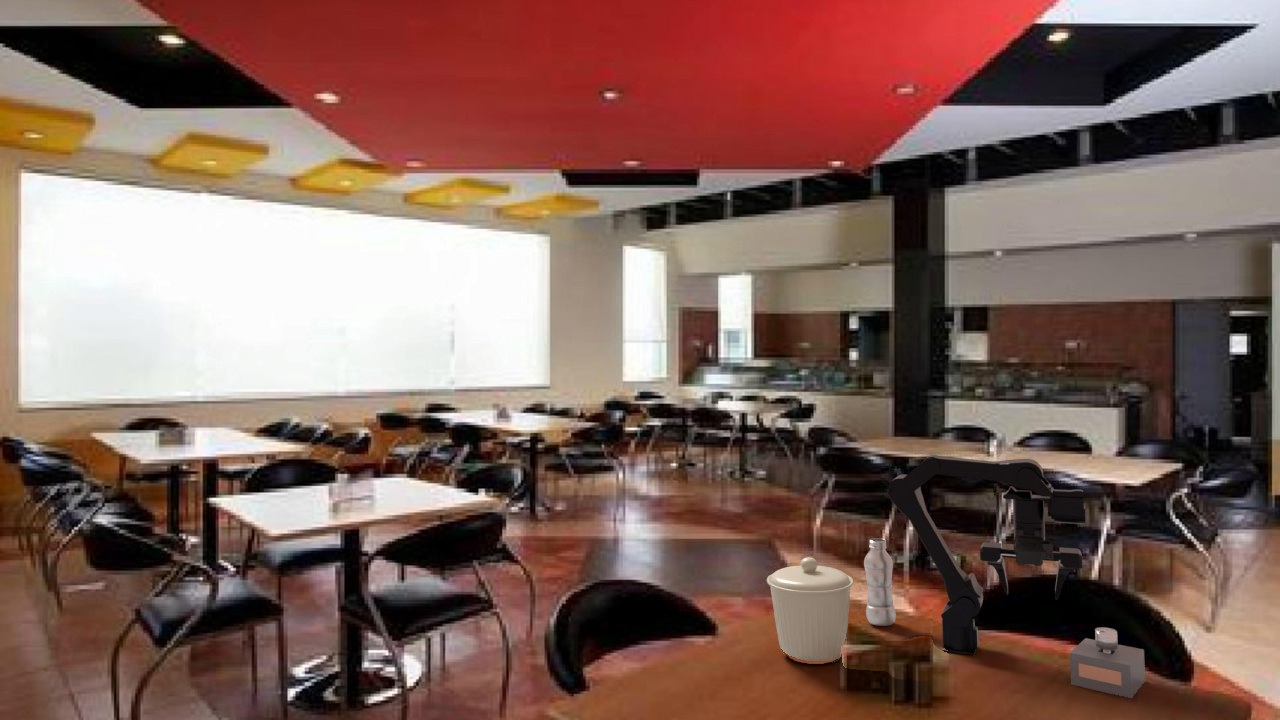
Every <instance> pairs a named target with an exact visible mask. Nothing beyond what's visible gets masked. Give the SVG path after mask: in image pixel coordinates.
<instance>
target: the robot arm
mask: <svg viewBox="0 0 1280 720" xmlns="http://www.w3.org/2000/svg"><path fill="white" fill-rule="evenodd" d="M1043 470H1044V469H1043V467H1042V465H1041V464H1040V463H1039V462H1038V461H1036V460H1034V459H1032V458H1016V459H1015V458H1014V459H1005V460H998V461H997V460H995V461H994V460H983V459H970V458H961V457H952V456H951V457H949V456H941V455H940V456H939V455H938V454H930V455H928V456H927V457H926V458H924V460H923V461H922V462H921V463H920V464H919V465H917V466H916V467H915V468H914V469H913V470H911V471H910V472H908V474H904V473H903V474H899V475H898V476H896V477H895V478H894V479H893V480H891V481H890V482H889V483H888V484H887V485H888V486H887V490H886V493H887V497H888V499H889V500H890V501H891V502H892V503H893V505H894V506H895V507H896V508H897V509H898V511H899V512H900V513H901V514H903V515H904V516H905V517H906V518H907V519H908V520H909V522H910V524H911V525H912V527H913V529H914V530H915V532H916V534H917V535H918V538H919V539H920V541H921V543H922V544H923V546H924V548H925V550H926V551H927V553H928V554H929V556H930V558H931V561H932V562H933V564H934V565H935V567H936V569H937V571H938V572H939V574H940V575H941V577H942V580H943V583H944V587H945V591H946V594H947V598H948V601H947V602H946V603H945V605H944V608H943V610H942V612H941V614H940V616H941V625H942V628H941V629H942V646H941V649H942V648H945V649H946V650H948V651H950V652H949V653H955V654H961V655H962V654H963V655H971V656H972V655H973V656H974V655H975V654H976V650H978V649H979V628H978V626H976V625H975V618H974V617H976V616H978V614H979V613H980V611H981V607H982V605H983V602H984V601H983V600H984V594H983V591H984V588H983V586H981V585H980V583H979V582H978V581H977V580H978V579H977V578H976V575H975V573H974V572H971V573H970V574H967V573H966V572H965V571H964V570H962V569H961V567H960V566H959V564H958V562H957V560H956V558H955V556H954V555H953V554H952V551H951V550H950V548H949V546H948V545H947V543H946V541H945V540H944V538H943V536H942V534H941V533H940V531H939V529H938V527H937V526H936V524H935V522H934V521H933V519H932V517H931V516H930V513H928V509H927V507H926V504H925V500H924V499H925V498H924V496H923V494H922V493H923V492H922V490H921V487H922V486H923V485H924V484H925V483H926V482H927V483H928V481H929V480H931V479H932V478H933V477H934V476H937V475H938V476H946V477H954V478H955V477H956V478H966V479H973V480H974V479H976V480H984V481H985V480H986V481H994V482H997V483H1000V484H1002V485H1003V484H1004V485H1005V486H1009V488H1008V490H1006V492H1003V495H1002V499H1004V500H1012V504H1013V506H1012V507H1013V508H1012V510H1013V511H1012V512H1013V548H1008V547H1003V545H1002V543H999V542H988V541H987V542H986V541H984V542H983V543H982V544H981V546H980V548H979V555H980V557H979V558H980V561H981V562H987V565H988V566H992V567H993V569H994V570H995V571H996V574H997V575H998V578H999V580H1000V583H1001V586H1002V588H1003V591H1004V593H1005V595H1009V584H1008V579H1007V572H1006V563H1005V558H1009V559H1015V562H1016V564H1018V565H1022V566H1024V565H1030V566H1031V565H1032V566H1033V565H1034V566H1036V567H1040V566H1042V565H1044V561H1045V562H1046V561H1049V562H1057V572H1056V577H1055V578H1056V581H1055V587H1054V591H1055V592H1054V594H1055V597H1054V598H1055V600H1059V596H1060V594H1061V591H1062V587H1063V584H1064V582H1065V579H1066V578H1067V576H1068V574H1069V573H1073V572H1076V569H1083V556H1082V555H1083V554H1082V551H1081V550H1080V549H1079V548H1075V547H1074V548H1073V547H1062V546H1061V547H1059V551H1054V542H1053V540H1046V527H1045V502H1047V517H1048V518H1050V519H1051V520H1053V521H1054V524H1055V523H1056V524H1057V523H1058V524H1074V525H1086V505H1085V502H1084V501H1085V500H1084V499H1085V498H1084V490H1083V489H1054V487H1053V486H1052V484H1051V483H1050V482H1049V481H1048V480H1047V478H1045V476H1044V471H1043ZM1016 488H1017V489H1018V490H1017V489H1016ZM1019 489H1020V490H1019ZM1032 492H1034V493H1036V494H1032Z"/></svg>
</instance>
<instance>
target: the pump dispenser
mask: <svg viewBox="0 0 1280 720" xmlns="http://www.w3.org/2000/svg"><path fill="white" fill-rule="evenodd" d="M1069 665H1070V666H1069V667H1070V684H1071V685H1072V686H1076V687H1081V688H1084V689H1089V690H1094V691H1098V692H1102V693H1106V694H1109V695H1114V694H1115V696H1118V695H1119V697H1122V696H1124V697H1123V698H1127V697H1128V698H1127V699H1131V698H1132V699H1133V697H1134V696H1135V695H1136V693H1137V692H1138V691H1139V690H1140V689H1141V687H1142V686H1143V685H1144V683H1145V682H1146V670H1145V666H1146V665H1145V649H1143V648H1137V647H1133V646H1129V645H1128V646H1127V645H1123V644H1118V649H1116V650H1111V654H1107V653H1103V649H1101V648H1098V647H1097V646H1096V639H1091V638H1086V637H1085V638H1084V639H1083V640H1082V641H1081V642H1079V644H1078V645H1077V646H1075V647H1074V648H1073V649H1072V650H1071V651H1070V652H1069ZM1142 684H1143V685H1142ZM1138 689H1139V690H1138ZM1134 694H1135V695H1134Z"/></svg>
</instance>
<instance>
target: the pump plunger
mask: <svg viewBox="0 0 1280 720" xmlns="http://www.w3.org/2000/svg"><path fill="white" fill-rule="evenodd" d="M1094 631H1095V632H1094V633H1095V638H1094V640H1096V646H1097V647H1098V648H1101V649H1103V653H1107V654H1111V650H1116V649H1118V645H1119V644H1118V631H1117V630H1116V629H1114V628H1111V627H1110V628H1109V627H1096V628H1095V629H1094Z"/></svg>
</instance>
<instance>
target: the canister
mask: <svg viewBox="0 0 1280 720" xmlns="http://www.w3.org/2000/svg"><path fill="white" fill-rule="evenodd" d="M766 583H767V585H768V586H769V587H770V592H771V599H772V606H773V612H774V613H773V615H774V621H775V628H776V632H777V639H778V644H779V647H780V650H781V649H782V650H783V652H785V653H786V654H788V655H789V656H792V657H795V658H797V659H801V660H806V661H832V660H835V659H838V658H839V657H840V652H841V646H842V644H843V643H844V641H845V639H846V640H847V637H846V633H847V634H848V626H849V611H850V600H851V599H850V597H851V596H850V595H851V588H852V586H853V585H854V579H853V578H852V576H850V575H848V574H846V573H845V572H843V571H842V570H840V569H837V568H834V567H829V566H823V565H818V561H817V560H816V559H815V558H814V557H809V556H808V557H804V558H803V559H801V561H800V565H792V566H786V567H782V568H780V569H777V570H776V571H775V572H773V573H771V574H770V575H768V576H767V578H766ZM782 650H781V651H782ZM783 652H782V653H783ZM839 659H840V658H839ZM839 659H838V660H839Z"/></svg>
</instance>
